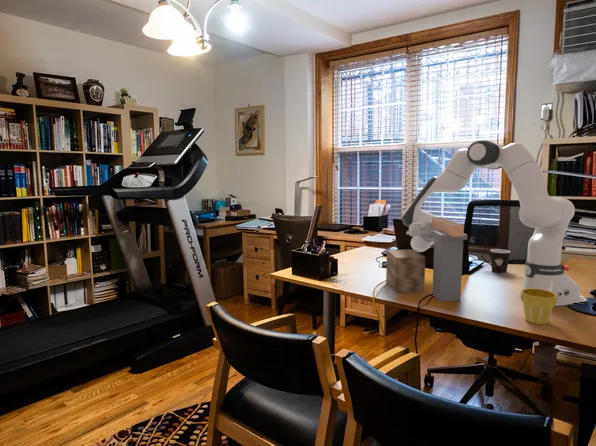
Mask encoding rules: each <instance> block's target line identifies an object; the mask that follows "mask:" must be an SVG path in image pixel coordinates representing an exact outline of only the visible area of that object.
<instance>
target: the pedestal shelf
mask: <svg viewBox="0 0 596 446" xmlns="http://www.w3.org/2000/svg"><path fill="white" fill-rule="evenodd" d="M431 236H433V237H435V239H434V244H433V269H432V291H431V292H432V293H431V294H433V295H434V296H435V297H434V296H433V295H432V296H433V297H434V298H435V299H437V300H438V302H460V301H461V295H462V278H463V277H462V276H463V274H462V273H463V254H464V252H463V251H464V241H468V234H467V233H464V236H457V237H452V236H450V235H448V234H446V233H444V232H441V231H439V230H431Z"/></svg>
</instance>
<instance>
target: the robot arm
mask: <svg viewBox="0 0 596 446" xmlns="http://www.w3.org/2000/svg"><path fill="white" fill-rule="evenodd" d="M478 168H481V169H487V170H498V169H502V168H503V170H504V172H505V174H506V176H507V177H508V179H509V181H510V183H511V184H512V186H513V188H514V190H515V192H516V194H517V198H518V201H519V206H520V208H519V211H518V217H519V220H520V222H521V223H522V224H523V225H524V226H526V227H528V228H532V229H534V232H533V234H532V236H531V237H530V238H529V240H528V244H527V256H526V260H525V263H524V275H525V276H524V280H523V283H522V284H523V285H522V288H521V290H520V293H519V296H520V297H521V291H522V290H523V289H526V288H538V289H544V290H548V291H551V292H554V293H555V294H556V295H557V303H556V306H555V307H560V306H568V305H569V304H570V305H574V304H573V303H579V302H585V301H587V302H588V299H587V298H586V297H585V296H583V295H581V290H580V289H581V288H580V285H579V284H578V283H577V282H576V281H575V280H574V279H572V278H571V277H570V276H568V275H567V274H566V273H565V271H566V272H570V271H571V269H572V268H571V266H570V265H568V264H562V263H561V259H562V249H563V248H562V247H563V243H564V239H565V235H566V233H567V230H568V227H569V224H570V222H571V220H572V219H573V218H574V216H575V212H576V211H575V210H576V209H575V206H574V203H573V202H572V201H570V200H569V199H567V198H565V197H560V196H550V195H549V193H548V190H547V185H546V184H547V177H546V175H545V174H544V172H543V170H542V168H541V167H540V165H539V164H538V162H537V161H536V159H535V158H534V156H533V155H532V153H531V152H530V151H529V150H528V149H527V148H526V146H524V145H523V144H522V143H521V142H512V143H509V144H507V145H505V146H504V145H501V144H499V143H497V142H495V141H492V140H487V139H478V140H474V141H473V142H472V143H471V144H470V145H469V146H468V148H460V149H458V150H457V151H456V152H455V153H454V154H453V156H451V158H450V160H449V162H448V163H447V165H446V167H445V169H444V170H443V171H442V172H441V173H440V174H438V175H437V176H436V175H435V176H432V177H431V178H430V179H428V181H427V182H426V183H425V184H424V185H423V188H422V189H421V190H420V191H419V192H418V194H417V195H416V196H415V198H414V199H413V200H412V202H411V203H410V204H409V205H408V206H407V207H406V208H405V210H404V211H403V212H402V214H401V221H402V223H403V225H404V226H406V227H408V230H407V231H406V232H405V233H406V235H409V237H412V238H411V240H410V246H411V248H412V249H414V250H416V251H417V252H418V253H422V252H425V251H427V250H428V249H430V248H431V246H432V245H434V239H435V237H433V236H431V230H437V229H435V228H433V227H431V222H432V217H439V215H436V214H433V213H431V212H428V211H426V210H424V209H422V208H421V206H422V205H423V203H424V202H425V201H426V200H427V198H428V197H429V196H430V195H431V194H433V193H456V192H459V191H462V190H463V189H464V188H465V187H466V186H467V183H468V181H469V180H470V179H471V176H472V175H473V173H474V171H475V170H477V169H478ZM449 220H450V219H449ZM450 221H453V220H450ZM579 304H580V303H579Z"/></svg>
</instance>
